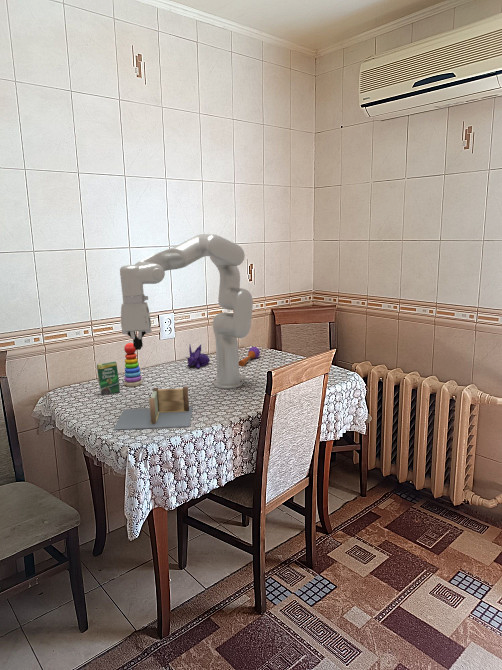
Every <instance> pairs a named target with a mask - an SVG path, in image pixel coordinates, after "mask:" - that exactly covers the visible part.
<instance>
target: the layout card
mask: <svg viewBox="0 0 502 670" xmlns="http://www.w3.org/2000/svg"><path fill="white" fill-rule="evenodd" d="M193 407H194V406H192V405H191V406H190V405H189V411H168V412H158V414H157V418H156V422H155V423H151V416H150V407H149V408H148V407H147V408H126V409H123V410H122V413H121V414H120V416H119V418H118V420H117V422H116V423H115V426H114V428H113V429H112V430H113V431H128V430H129V431H132V430H152V429H153V430H154V429H156V430H157V429H175V428H176V429H177V428H179V429H180V428H190V425H191V420H192V415H193V409H194V408H193Z"/></svg>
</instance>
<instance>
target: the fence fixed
mask: <svg viewBox="0 0 502 670" xmlns="http://www.w3.org/2000/svg"><path fill="white" fill-rule="evenodd" d="M153 391H157V400H158V412H168V411H189V406H190V402H189V387H188V386H187V385H186V386H183V387H182V388H162V389H159V387H153V388H152V392H153Z"/></svg>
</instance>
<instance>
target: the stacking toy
mask: <svg viewBox="0 0 502 670" xmlns="http://www.w3.org/2000/svg"><path fill="white" fill-rule="evenodd" d="M123 350H124V352H125V353H126V354H125V355H124V357H125V359H124V367H125V368H124V382H123V384H124V386H127V387H137V386H141V385H142V384H143V379H142V378H143V377H142V375H141V374H142V371H141V370H140V369H141V368H140V365H139V361H138V358H137V356H138V355H137V353H136V351H137V350H135V347H134V345H133V342H128V343H126V344H125V345H124V348H123Z"/></svg>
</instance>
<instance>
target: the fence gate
mask: <svg viewBox="0 0 502 670" xmlns="http://www.w3.org/2000/svg"><path fill="white" fill-rule="evenodd" d="M149 408H150V416H151V423H155V422H156V418H157V414H158V400H157V391H153V390H152V394H151V397H150V398H149Z"/></svg>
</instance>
